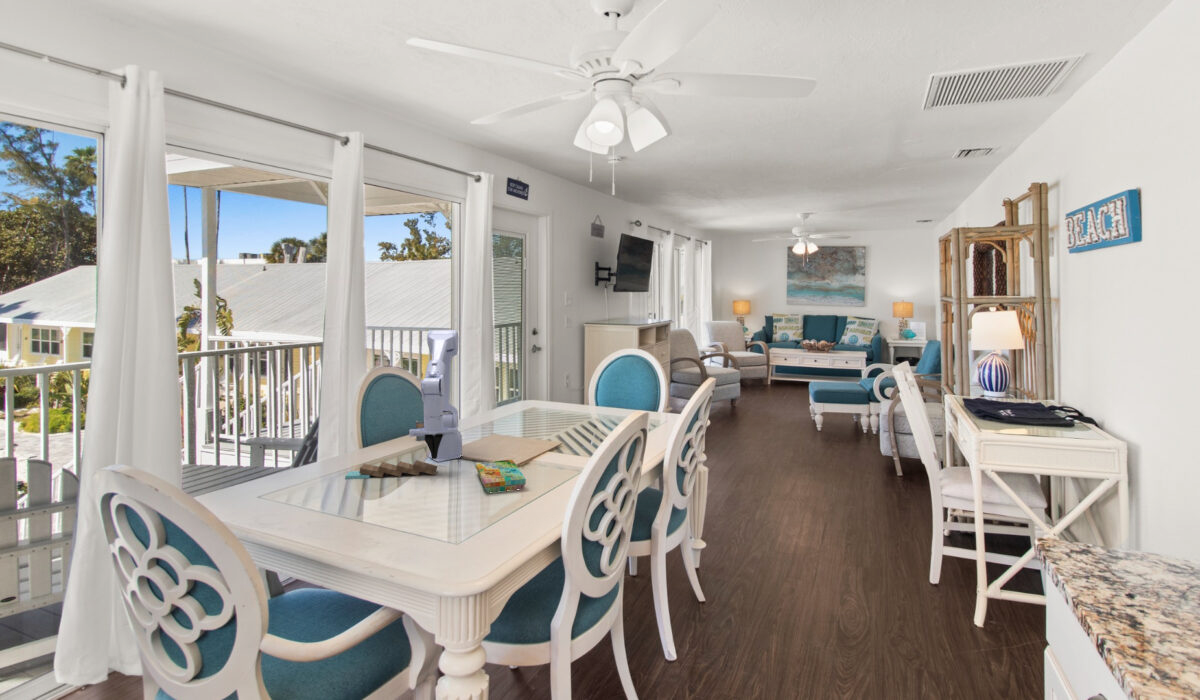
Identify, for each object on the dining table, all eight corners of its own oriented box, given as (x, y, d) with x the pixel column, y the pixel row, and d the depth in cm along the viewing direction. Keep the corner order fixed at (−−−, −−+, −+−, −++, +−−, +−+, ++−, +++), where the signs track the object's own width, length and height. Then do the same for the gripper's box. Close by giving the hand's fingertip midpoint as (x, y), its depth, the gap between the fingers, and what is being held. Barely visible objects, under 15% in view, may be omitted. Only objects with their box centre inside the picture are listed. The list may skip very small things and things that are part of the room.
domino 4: (421, 466, 186) (399, 461, 184) (419, 471, 181) (397, 465, 180) (420, 471, 186) (398, 465, 185) (418, 475, 181) (395, 470, 180)
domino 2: (386, 468, 184) (364, 463, 183) (383, 472, 180) (360, 468, 179) (385, 472, 184) (363, 468, 183) (382, 477, 180) (359, 473, 179)
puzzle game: (484, 480, 164) (475, 460, 183) (484, 496, 165) (475, 474, 184) (525, 475, 168) (512, 456, 187) (525, 491, 169) (512, 471, 188)
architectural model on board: (447, 438, 228) (447, 414, 227) (447, 440, 225) (446, 415, 224) (417, 439, 226) (416, 415, 225) (416, 442, 223) (415, 416, 222)
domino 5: (437, 466, 186) (416, 460, 185) (436, 470, 182) (413, 464, 181) (436, 470, 186) (414, 464, 185) (434, 475, 182) (412, 469, 181)
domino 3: (404, 467, 185) (382, 461, 184) (402, 472, 180) (379, 466, 179) (403, 472, 185) (381, 466, 184) (400, 476, 181) (377, 471, 179)
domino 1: (372, 470, 183) (349, 471, 182) (369, 475, 179) (345, 476, 178) (372, 475, 184) (349, 476, 183) (369, 480, 179) (345, 481, 178)
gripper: (407, 419, 177) (408, 462, 179) (456, 417, 179) (457, 460, 181) (410, 414, 184) (412, 456, 186) (458, 412, 186) (459, 454, 188)
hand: (434, 457), depth 184 cm, fingers closed
